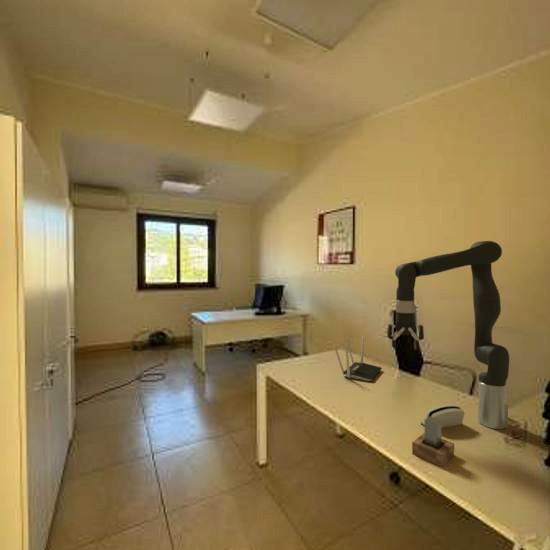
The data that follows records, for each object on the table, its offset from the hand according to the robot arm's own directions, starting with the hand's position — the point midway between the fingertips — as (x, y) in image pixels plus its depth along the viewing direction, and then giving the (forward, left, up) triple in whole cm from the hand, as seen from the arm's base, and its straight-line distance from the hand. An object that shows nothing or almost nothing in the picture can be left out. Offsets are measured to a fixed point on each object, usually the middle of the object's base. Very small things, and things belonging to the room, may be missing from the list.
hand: (405, 348), depth 135 cm
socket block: (-3, +25, -30) cm, 40 cm away
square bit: (-3, +25, -30) cm, 40 cm away
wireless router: (+13, -57, -30) cm, 66 cm away
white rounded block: (-14, +4, -30) cm, 34 cm away
